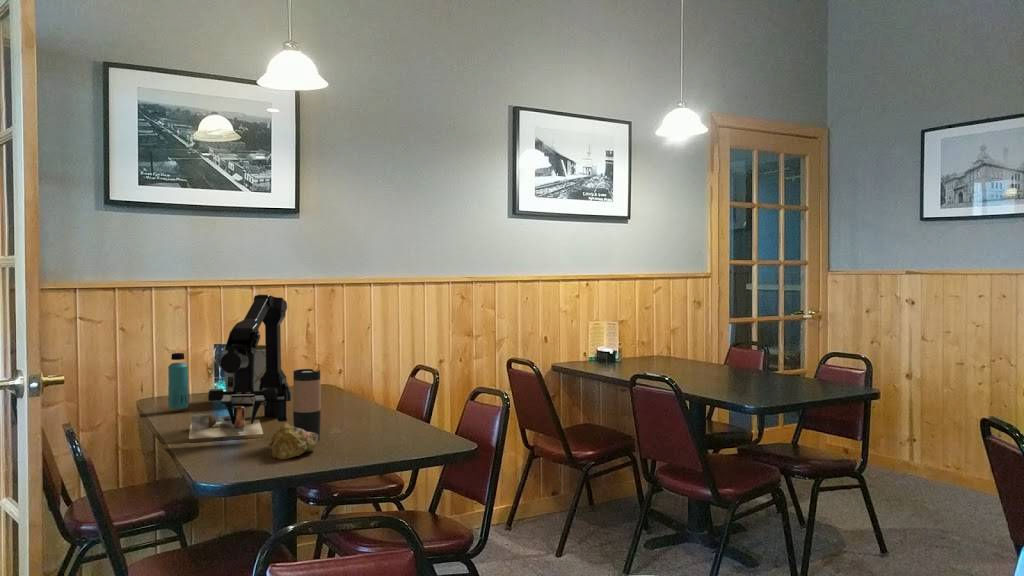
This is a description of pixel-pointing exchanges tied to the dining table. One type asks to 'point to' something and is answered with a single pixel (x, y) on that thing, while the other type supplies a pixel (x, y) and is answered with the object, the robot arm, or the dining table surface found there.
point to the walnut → (212, 420)
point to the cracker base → (220, 429)
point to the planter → (258, 373)
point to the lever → (235, 419)
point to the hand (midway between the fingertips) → (242, 424)
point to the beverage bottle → (178, 383)
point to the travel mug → (307, 400)
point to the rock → (292, 442)
